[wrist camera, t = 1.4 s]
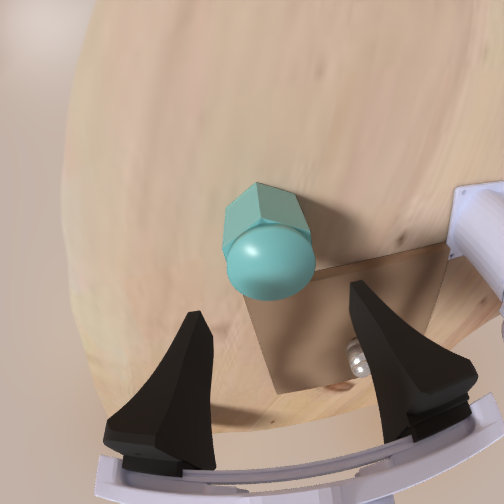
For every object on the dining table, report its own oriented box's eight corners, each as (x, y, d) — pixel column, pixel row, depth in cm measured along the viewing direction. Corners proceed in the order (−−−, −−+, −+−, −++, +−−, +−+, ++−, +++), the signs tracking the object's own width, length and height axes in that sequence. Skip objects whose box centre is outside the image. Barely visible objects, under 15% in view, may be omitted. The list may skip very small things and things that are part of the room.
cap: (291, 175, 19) (310, 215, 14) (301, 243, 22) (318, 296, 17) (220, 190, 19) (213, 235, 14) (239, 255, 22) (240, 311, 18)
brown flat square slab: (444, 241, 22) (450, 248, 22) (409, 354, 34) (412, 361, 33) (242, 285, 24) (242, 294, 23) (276, 387, 36) (276, 394, 35)
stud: (365, 332, 27) (378, 367, 23) (363, 344, 29) (374, 378, 25) (344, 337, 27) (355, 373, 24) (343, 349, 29) (353, 383, 25)
